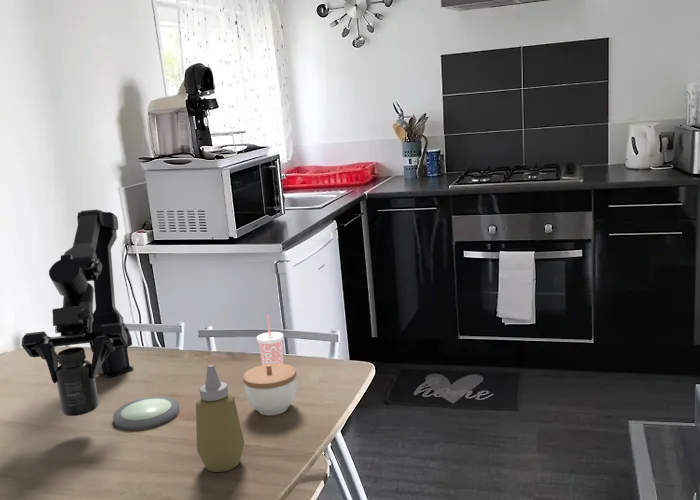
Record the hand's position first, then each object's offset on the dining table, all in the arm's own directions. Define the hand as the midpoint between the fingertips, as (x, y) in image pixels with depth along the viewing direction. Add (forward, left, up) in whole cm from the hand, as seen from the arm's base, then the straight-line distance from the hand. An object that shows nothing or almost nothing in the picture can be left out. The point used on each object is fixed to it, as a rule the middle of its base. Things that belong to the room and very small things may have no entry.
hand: (73, 380), depth 131 cm
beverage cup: (-43, +7, -12) cm, 45 cm away
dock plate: (-13, +2, -12) cm, 18 cm away
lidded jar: (-30, +22, -12) cm, 39 cm away
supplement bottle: (-1, -1, -7) cm, 7 cm away
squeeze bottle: (-10, +32, -12) cm, 36 cm away
